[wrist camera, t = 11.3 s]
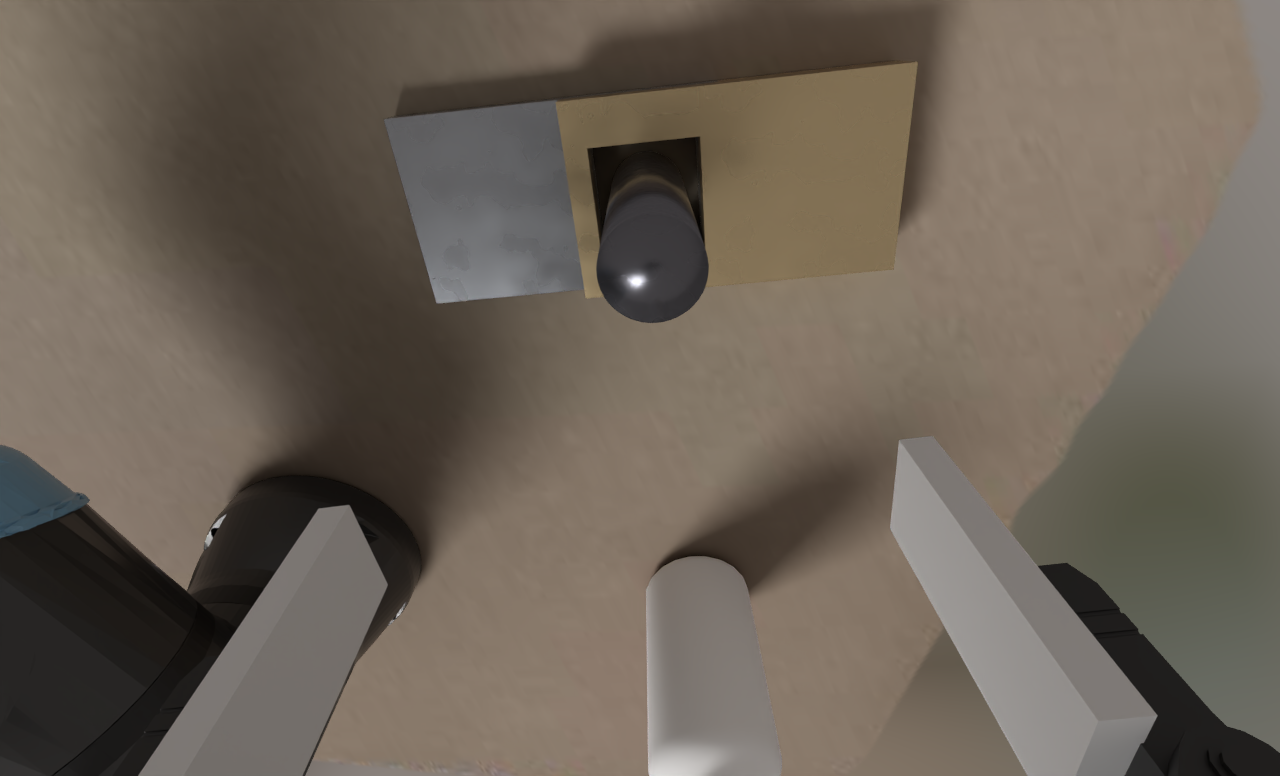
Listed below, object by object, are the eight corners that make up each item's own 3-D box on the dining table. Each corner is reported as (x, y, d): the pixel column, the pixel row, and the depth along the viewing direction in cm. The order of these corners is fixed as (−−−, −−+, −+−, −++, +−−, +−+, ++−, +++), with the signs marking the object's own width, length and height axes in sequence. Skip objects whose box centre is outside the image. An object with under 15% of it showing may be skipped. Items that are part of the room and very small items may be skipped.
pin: (616, 228, 34) (604, 327, 22) (607, 155, 32) (588, 219, 20) (685, 221, 34) (710, 317, 22) (680, 147, 32) (706, 208, 20)
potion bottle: (628, 601, 50) (623, 853, 34) (674, 535, 46) (692, 785, 31) (714, 630, 52) (747, 882, 36) (765, 569, 48) (826, 820, 32)
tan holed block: (443, 294, 36) (429, 313, 34) (394, 116, 31) (372, 122, 29) (874, 252, 35) (893, 269, 32) (894, 60, 30) (918, 61, 27)
